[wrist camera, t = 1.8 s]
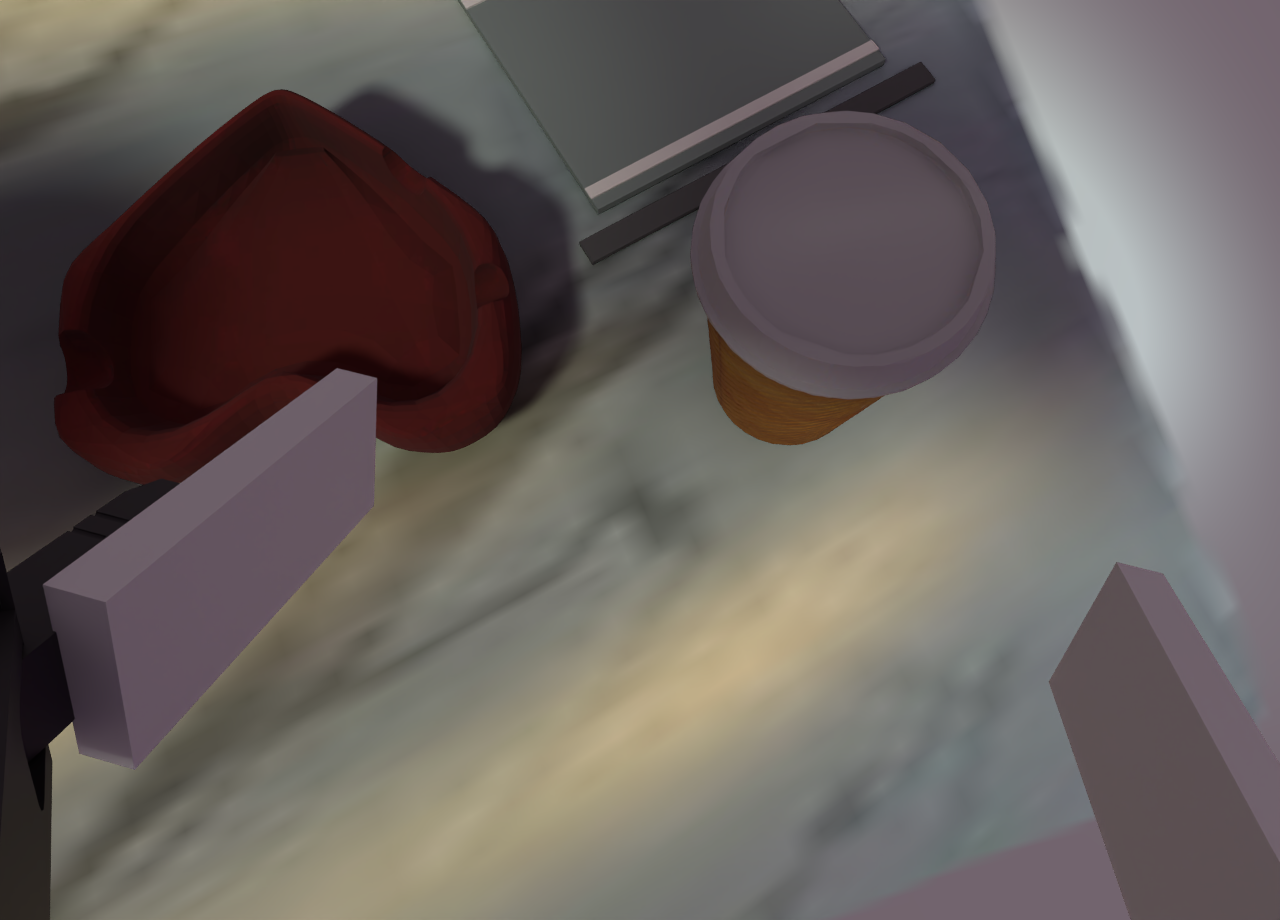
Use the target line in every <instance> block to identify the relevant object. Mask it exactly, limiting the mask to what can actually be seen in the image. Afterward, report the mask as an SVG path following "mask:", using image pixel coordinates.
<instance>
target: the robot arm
mask: <svg viewBox="0 0 1280 920" xmlns="http://www.w3.org/2000/svg"><path fill="white" fill-rule="evenodd" d="M376 406H377V378H375V377H371V376H367V375H363V374H359V373H355V372H350V371H346V370H342V369H338V368H337V369H335V370H334V371H333V372H331V373H330V374H328V375H327V376H326V377H324V378H323V379H322V380H320V381H319V382H318V383H316V384H315V385H314V386H312V387H311V388H309V389H308V390H307V391H305V392H304V393H303V394H301V395H300V396H299V397H297V398H296V399H294V400H293V401H292V402H290V403H289V404H288V405H286V406H285V407H284V408H282V409H281V410H280V411H278V412H277V413H275V414H274V415H273V416H271V417H270V418H269V419H267V420H266V421H265V422H263V423H262V424H260V425H259V426H258V427H256V428H255V429H254V430H252V431H251V432H250V433H248V434H247V435H246V436H244V437H243V438H241V439H240V440H239V441H237V442H236V443H235V444H233V445H232V446H231V447H229V448H228V449H226V450H225V451H224V452H222V453H221V454H220V455H218V456H217V457H216V458H214V459H213V460H212V461H210V462H209V463H207V464H206V465H205V466H203V467H202V468H201V469H199V470H198V471H197V472H195V473H194V474H192V475H191V476H190V477H188V478H187V479H186V480H184V481H183V482H182V483H177V482H173V481H169V480H165V479H162V478H161V479H159V480H156V481H153V482H150V483H148V484H145V485H142V486H139V487H137V488H134V489H131V490H128V491H126V492H124V493H122V494H121V495H119V496H118V497H116V498H115V499H113V500H112V501H110V502H109V503H108V504H106V505H105V506H103V507H102V508H100V509H99V510H97V511H96V515H95V516H93V515H90V516H89V517H87V518H86V519H84V520H83V521H81V522H80V523H79V524H77V525H76V526H74V527H73V531H72V532H70V531H67V532H65V533H64V534H63V535H61V536H60V537H58V538H57V539H55V540H54V541H52V542H51V543H49V544H48V545H47V546H45V547H44V548H42V549H41V550H39V551H38V552H36V553H35V554H33V555H32V556H31V557H29V558H28V559H26V560H25V561H23V562H22V563H20V564H19V565H17V566H16V567H15V568H13V569H12V570H10V571H9V572H6V568H5V564H4V560H3V556H2V552H1V549H0V920H50V878H51V811H52V758H51V754H50V750H49V746H48V744H49V743H50V742H51V741H52V740H53V739H54V738H55V737H56V736H58V735H59V734H60V733H61V732H62V731H63V730H64V729H65V728H66V727H67V726H68V725H69V724H70V723H71V722H73V726H74V731H75V735H76V740H77V745H78V749H79V754H83V755H86V756H90V757H93V758H96V759H100V760H103V761H107V762H110V763H113V764H117V765H120V766H124V767H127V768H130V769H134V770H135V769H136V768H137V767H138V766H139V764H140V763H141V762H142V761H143V760H144V759H145V758H146V757H147V756H148V754H149V753H150V752H151V751H152V750H153V749H154V748H155V747H156V746H157V745H158V743H159V742H160V741H161V740H162V739H163V738H164V737H165V736H166V735H167V733H168V732H169V731H170V730H171V729H172V728H173V727H174V726H175V725H176V724H177V722H178V721H179V720H180V719H181V718H182V717H183V716H184V715H185V714H186V713H187V711H188V710H189V709H190V708H191V707H192V706H193V705H194V704H195V703H196V701H197V700H198V699H199V698H200V697H201V696H202V695H203V694H204V693H205V692H206V690H207V689H208V688H209V687H210V686H211V685H212V684H213V683H214V682H215V680H216V679H217V678H218V677H219V676H220V675H221V674H222V673H223V672H224V671H225V669H226V668H227V667H228V666H229V665H230V664H231V663H232V662H233V661H234V659H235V658H236V657H237V656H238V655H239V654H240V653H241V652H242V651H243V650H244V648H245V647H246V646H247V645H248V644H249V643H250V642H251V641H252V640H253V639H254V637H255V636H256V635H257V634H258V633H259V632H260V631H261V630H262V629H263V627H264V626H265V625H266V624H267V623H268V622H269V621H270V620H271V619H272V618H273V616H274V615H275V614H276V613H277V612H278V611H279V610H280V609H281V608H282V606H283V605H284V604H285V603H286V602H287V601H288V600H289V599H290V598H291V597H292V595H293V594H294V593H295V592H296V591H297V590H298V589H299V588H300V587H301V585H302V584H303V583H304V582H305V581H306V580H307V579H308V578H309V577H310V576H311V574H312V573H313V572H314V571H315V570H316V569H317V568H318V567H319V566H320V564H321V563H322V562H323V561H324V560H325V559H326V558H327V557H328V556H329V555H330V553H331V552H332V551H333V550H334V549H335V548H336V547H337V546H338V545H339V544H340V542H341V541H342V540H343V539H344V538H345V537H346V536H347V535H348V534H349V532H350V531H351V530H352V529H353V528H354V527H355V526H356V525H357V524H358V523H359V521H360V520H361V519H362V518H363V517H364V516H365V515H366V514H367V513H368V511H369V510H370V509H371V508H372V507H373V506H374V484H375V445H376ZM1049 684H1050V687H1051V689H1052V692H1053V695H1054V698H1055V701H1056V704H1057V707H1058V710H1059V713H1060V716H1061V719H1062V721H1063V724H1064V727H1065V730H1066V733H1067V736H1068V739H1069V742H1070V745H1071V748H1072V751H1073V753H1074V756H1075V759H1076V762H1077V765H1078V768H1079V771H1080V774H1081V777H1082V780H1083V783H1084V785H1085V788H1086V791H1087V794H1088V797H1089V800H1090V803H1091V806H1092V809H1093V812H1094V814H1095V817H1096V820H1097V823H1098V826H1099V829H1100V832H1101V835H1102V838H1103V840H1104V843H1105V846H1106V849H1107V852H1108V855H1109V858H1110V861H1111V864H1112V867H1113V870H1114V873H1115V876H1116V878H1117V881H1118V884H1119V887H1120V890H1121V893H1122V896H1123V899H1124V902H1125V905H1126V907H1127V910H1128V913H1129V916H1130V919H1131V920H1280V763H1279V762H1278V760H1277V758H1276V757H1275V755H1274V753H1273V752H1272V750H1271V749H1270V747H1269V745H1268V744H1267V742H1266V740H1265V739H1264V737H1263V736H1262V734H1261V732H1260V731H1259V729H1258V727H1257V726H1256V724H1255V723H1254V721H1253V719H1252V718H1251V716H1250V714H1249V713H1248V711H1247V710H1246V708H1245V706H1244V705H1243V703H1242V701H1241V700H1240V698H1239V696H1238V695H1237V693H1236V692H1235V690H1234V688H1233V687H1232V685H1231V683H1230V682H1229V680H1228V679H1227V677H1226V675H1225V674H1224V672H1223V670H1222V669H1221V667H1220V666H1219V664H1218V662H1217V661H1216V659H1215V657H1214V656H1213V654H1212V653H1211V651H1210V649H1209V648H1208V646H1207V644H1206V643H1205V641H1204V640H1203V638H1202V636H1201V635H1200V633H1199V631H1198V630H1197V628H1196V627H1195V625H1194V623H1193V622H1192V620H1191V618H1190V617H1189V615H1188V613H1187V612H1186V610H1185V609H1184V607H1183V605H1182V604H1181V602H1180V600H1179V599H1178V597H1177V596H1176V594H1175V592H1174V591H1173V589H1172V587H1171V586H1170V584H1169V583H1168V581H1167V579H1166V578H1165V576H1164V574H1162V573H1158V572H1154V571H1150V570H1146V569H1142V568H1138V567H1134V566H1130V565H1126V564H1122V563H1118V562H1116V564H1115V566H1114V568H1113V570H1112V571H1111V573H1110V575H1109V577H1108V578H1107V580H1106V582H1105V584H1104V585H1103V587H1102V589H1101V591H1100V592H1099V594H1098V596H1097V598H1096V600H1095V601H1094V603H1093V605H1092V607H1091V608H1090V610H1089V612H1088V614H1087V615H1086V617H1085V619H1084V621H1083V622H1082V624H1081V626H1080V628H1079V630H1078V631H1077V633H1076V635H1075V637H1074V638H1073V640H1072V642H1071V644H1070V645H1069V647H1068V649H1067V651H1066V652H1065V654H1064V656H1063V658H1062V660H1061V661H1060V663H1059V665H1058V667H1057V668H1056V670H1055V672H1054V674H1053V675H1052V677H1051V679H1050V681H1049Z"/></svg>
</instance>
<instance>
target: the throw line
mask: <svg viewBox="0 0 1280 920" xmlns="http://www.w3.org/2000/svg"><path fill="white" fill-rule="evenodd" d="M934 82H935V78H934V77H933V76H932V75H931V73H930V72H929V71H928V70H927V68H926V67H925V66H924V65H923V64H922V62H919V63H917V64H916V65H914V66H912V67H910V68H908V69H906V70H904V71H902V72H900V73H898V74H897V75H895V76H893V77H891V78H889V79H887V80H885V81H883V82H881V83H879V84H878V85H876V86H874V87H872V88H870V89H868V90H866V91H864V92H862V93H861V94H859V95H857V96H855V97H853V98H851V99H849V100H847V101H845V102H843V103H842V104H840V105H838V106H836V107H834V108H832V109H830V110H828V111H826V112H824V113H827V112H838V111H855V112H864V113H873V114H877V113H879V112H881V111H883V110H885V109H886V108H888V107H890V106H892V105H894V104H896V103H898V102H900V101H901V100H903V99H905V98H907V97H909V96H911V95H913V94H915V93H916V92H918V91H920V90H922V89H924V88H926V87H928V86H930V85H931V84H933V83H934ZM728 164H729V163H728ZM726 165H727V164H726ZM726 165H724V166H722V167H720V168H718V169H716V170H715V171H713V172H711V173H709V174H707V175H705V176H703V177H701V178H699V179H697V180H696V181H694V182H692V183H690V184H688V185H686V186H684V187H682V188H680V189H679V190H677V191H675V192H673V193H671V194H669V195H667V196H665V197H663V198H661V199H660V200H658V201H656V202H654V203H652V204H650V205H648V206H646V207H644V208H642V209H641V210H639V211H637V212H635V213H633V214H631V215H629V216H627V217H625V218H624V219H622V220H620V221H618V222H616V223H614V224H612V225H610V226H608V227H606V228H605V229H603V230H601V231H599V232H597V233H595V234H593V235H591V236H589V237H588V238H586V239H584V240H582V241H580V242H579V243H580V246H581V247H582V249H583V251H584V252H585V254H586V255H587V257H588V258H589V260H590V261H591V263H592V265H594V264H596V263H598V262H599V261H601V260H603V259H605V258H607V257H609V256H611V255H613V254H614V253H616V252H618V251H620V250H622V249H624V248H626V247H628V246H629V245H631V244H633V243H635V242H637V241H639V240H641V239H643V238H645V237H646V236H648V235H650V234H652V233H654V232H656V231H658V230H660V229H661V228H663V227H665V226H667V225H669V224H671V223H673V222H675V221H676V220H678V219H680V218H682V217H684V216H686V215H688V214H690V213H691V212H693V211H695V210H697V209H699V207H700V203H701V201H702V199H703V198H704V196H705V194H706V192H707V191H708V189H709V187H710V186H711V184H712V182H713V181H714V180H715V178H716V177H717V176H718V175H719V173H720V172H721V171H722V170H723V168H724V167H725V166H726Z"/></svg>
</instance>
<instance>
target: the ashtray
mask: <svg viewBox="0 0 1280 920" xmlns="http://www.w3.org/2000/svg"><path fill="white" fill-rule="evenodd" d="M59 341H60V346H61V348H62V351H63V354H64V357H65V361H66V368H67V387H66V390H65V393H63V394H60V395H56V397H55V398H54V411H55V424H56V427H57V430H58V433H59V436H60V438H61V439H62V440H63V441H64V442H65V443H66V444H67V446H68V447H70V448H71V449H72V450H73V451H74V452H75V453H77V454H78V455H79V456H81V457H82V458H84V459H85V460H87V461H88V462H90V463H91V464H92V465H94V466H95V467H97V468H99V469H100V470H102V471H104V472H106V473H108V474H110V475H113V476H116V477H118V478H121V479H125V480H128V481H132V482H135V483H139V484H143V485H145V484H148V483H150V482H153V481H156V480H159V479H161V478H162V479H165V480H169V481H173V482H177V483H180V482H183V481H184V480H186V479H187V478H188V477H190V476H191V475H192V474H194V473H195V472H197V471H198V470H199V469H201V468H202V467H203V466H205V465H206V464H207V463H209V462H210V461H212V460H213V459H214V458H216V457H217V456H218V455H220V454H221V453H222V452H224V451H225V450H226V449H228V448H229V447H231V446H232V445H233V444H235V443H236V442H237V441H239V440H240V439H241V438H243V437H244V436H246V435H247V434H248V433H250V432H251V431H252V430H254V429H255V428H256V427H258V426H259V425H260V424H262V423H263V422H265V421H266V420H267V419H269V418H270V417H271V416H273V415H274V414H275V413H277V412H278V411H280V410H281V409H282V408H284V407H285V406H286V405H288V404H289V403H290V402H292V401H293V400H294V399H296V398H297V397H299V396H300V395H301V394H303V393H304V392H305V391H307V390H308V389H309V388H311V387H312V386H314V385H315V384H316V383H318V382H319V381H320V380H322V379H323V378H324V377H326V376H327V375H328V374H330V373H331V372H333V371H334V370H335V369H337V368H338V369H342V370H346V371H350V372H355V373H359V374H363V375H367V376H371V377H375V378H377V406H376V438H378V439H380V440H382V441H384V442H386V443H388V444H390V445H392V446H394V447H397V448H401V449H405V450H409V451H416V452H428V453H441V452H450V451H454V450H458V449H461V448H464V447H466V446H468V445H470V444H472V443H474V442H476V441H478V440H479V439H481V438H482V437H484V436H486V435H487V434H488V433H490V432H491V431H492V430H493V429H494V428H495V427H497V425H498V424H499V423H500V421H501V420H502V419H503V418H504V416H505V415H506V413H507V411H508V409H509V407H510V406H511V404H512V401H513V399H514V396H515V393H516V391H517V388H518V383H519V378H520V374H521V354H522V349H521V333H520V322H519V312H518V304H517V299H516V293H515V288H514V283H513V278H512V274H511V271H510V267H509V264H508V260H507V258H506V256H505V254H504V251H503V249H502V247H501V245H500V243H499V240H498V238H497V236H496V234H495V232H494V231H493V229H492V228H491V226H490V225H489V224H488V222H487V221H486V220H485V218H484V217H483V216H482V215H481V214H479V213H478V212H477V211H476V210H475V209H474V208H473V207H472V206H470V205H469V204H468V203H466V202H465V201H464V200H462V199H461V198H460V197H458V196H457V195H456V194H454V193H453V192H452V191H450V190H449V189H447V188H446V187H445V186H443V185H442V184H440V183H439V182H437V181H436V180H435V179H433V178H432V177H429V178H426V177H424V176H422V175H421V174H420V173H418V172H417V171H415V170H414V169H413V168H412V167H410V166H409V165H408V164H407V163H406V162H404V161H403V160H402V159H401V158H400V157H399V156H398V155H397V154H396V153H395V152H394V151H392V150H391V149H390V148H388V147H387V146H385V145H384V144H382V143H381V142H379V141H378V140H376V139H375V138H373V137H372V136H370V135H369V134H367V133H366V132H364V131H363V130H361V129H359V128H358V127H356V126H354V125H353V124H351V123H350V122H348V121H346V120H345V119H343V118H341V117H340V116H338V115H336V114H335V113H333V112H331V111H329V110H328V109H326V108H324V107H322V106H321V105H319V104H317V103H315V102H313V101H311V100H309V99H307V98H305V97H303V96H301V95H299V94H297V93H294V92H292V91H288V90H283V89H281V90H274V91H271V92H269V93H267V94H265V95H263V96H262V97H260V98H259V99H257V100H256V101H254V102H253V103H251V104H250V105H249V106H247V107H246V108H245V109H243V110H242V111H241V112H239V113H238V114H237V115H235V116H234V117H233V118H232V119H230V120H229V121H228V122H227V123H225V124H224V125H223V126H222V127H220V128H219V129H218V130H217V131H215V132H214V133H213V134H212V135H211V136H209V137H208V138H207V139H206V140H205V141H203V142H202V143H201V144H200V145H199V146H197V147H196V148H195V149H194V150H193V151H192V152H190V153H189V154H188V155H187V156H186V157H185V158H184V159H182V160H181V161H180V162H179V163H178V164H177V165H176V166H174V167H173V168H172V169H171V170H170V171H169V172H168V173H167V174H166V175H164V176H163V177H162V178H161V179H160V180H159V181H158V182H157V183H156V184H155V185H153V186H152V187H151V188H150V189H149V190H148V191H147V192H146V193H145V194H144V195H143V196H142V197H140V198H139V199H138V200H137V201H136V202H135V203H134V204H133V205H132V206H131V207H130V208H129V209H128V210H127V211H125V212H124V213H123V214H122V215H121V216H120V217H119V218H118V219H117V220H116V221H115V222H114V223H113V224H112V225H111V226H110V227H108V228H107V229H106V230H105V231H104V232H103V233H102V234H101V235H99V236H98V237H97V238H96V239H95V240H94V241H93V242H92V243H91V244H90V245H89V246H88V247H86V248H85V249H84V250H83V251H82V252H81V254H80V255H79V256H78V257H77V258H76V259H75V260H74V261H73V262H72V264H71V266H70V268H69V270H68V272H67V274H66V277H65V279H64V283H63V289H62V296H61V303H60V319H59Z"/></svg>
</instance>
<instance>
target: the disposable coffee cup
mask: <svg viewBox="0 0 1280 920" xmlns="http://www.w3.org/2000/svg"><path fill="white" fill-rule="evenodd" d="M690 255H691V268H692V273H693V278H694V282H695V287H696V291H697V294H698V297H699V300H700V302H701V304H702V306H703V308H704V310H705V313H706V315H707V317H708V327H709V338H710V340H709V341H710V349H711V360H712V370H713V383H714V389H715V392H716V395H717V398H718V401H719V403H720V405H721V406H722V408H723V409H724V411H725V413H726V414H727V416H728V417H729V418H730V419H731V420H732V422H733V423H734V424H735V425H737V426H738V427H739V428H740V429H742V430H743V431H744V432H745V433H747V434H749V435H751V436H753V437H755V438H757V439H759V440H762V441H765V442H769V443H772V444H782V445H798V444H804V443H807V442H810V441H814V440H817V439H819V438H821V437H823V436H824V435H826V434H828V433H830V432H831V431H832V430H834V429H835V428H837V427H838V426H840V425H841V424H843V423H844V422H846V421H847V420H849V419H850V418H852V417H853V416H855V415H856V414H858V413H860V412H861V411H862V410H864V409H865V408H867V407H868V406H870V405H871V404H873V403H874V402H876V401H877V400H879V399H880V398H881V397H883V396H885V395H888V394H892V393H897V392H901V391H904V390H907V389H909V388H911V387H913V386H915V385H917V384H919V383H922V382H924V381H926V380H928V379H930V378H931V377H933V376H934V375H936V374H938V373H939V372H940V371H942V370H943V369H944V368H945V367H947V366H948V365H949V364H950V363H952V362H953V361H954V360H955V359H957V358H958V357H959V356H960V354H961V353H962V352H963V351H964V349H965V348H966V347H967V346H968V344H969V343H970V342H971V341H972V340H973V338H974V337H975V336H976V335H977V333H978V331H979V329H980V327H981V325H982V323H983V321H984V319H985V317H986V315H987V312H988V309H989V305H990V302H991V299H992V295H993V292H994V280H995V268H996V267H995V259H996V257H995V230H994V226H993V222H992V219H991V215H990V211H989V207H988V203H987V201H986V199H985V198H984V196H983V194H982V192H981V190H980V189H979V187H978V185H977V183H976V182H975V180H974V178H973V176H972V175H971V173H970V171H969V170H968V169H967V168H966V167H965V166H964V165H963V164H962V163H961V162H960V161H959V160H958V159H957V158H956V157H955V156H954V155H953V154H952V153H951V152H950V151H949V150H947V149H946V148H945V147H944V146H943V145H942V144H941V143H940V142H938V141H937V140H935V139H933V138H931V137H930V136H928V135H926V134H924V133H923V132H921V131H919V130H917V129H915V128H914V127H912V126H910V125H908V124H907V123H904V122H901V121H898V120H894V119H891V118H887V117H884V116H880V115H877V114H873V113H864V112H855V111H838V112H827V113H819V114H812V115H805V116H801V117H799V118H796V119H794V120H791V121H788V122H786V123H783V124H780V125H778V126H776V127H774V128H773V129H771V130H769V131H768V132H766V133H765V134H763V135H761V136H760V137H758V138H756V139H755V140H754V141H753V142H752V143H751V144H750V145H749V146H747V147H746V148H745V149H744V150H743V151H742V152H741V153H740V154H739V155H737V156H736V157H735V158H734V159H733V160H732V161H731V162H730V163H729V164H727V165H726V166H725V167H724V168H723V170H722V171H721V172H720V173H719V175H718V176H717V177H716V178H715V180H714V181H713V182H712V184H711V186H710V187H709V189H708V191H707V192H706V194H705V196H704V198H703V199H702V201H701V203H700V207H699V210H698V213H697V216H696V219H695V222H694V226H693V234H692V243H691V253H690Z"/></svg>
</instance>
